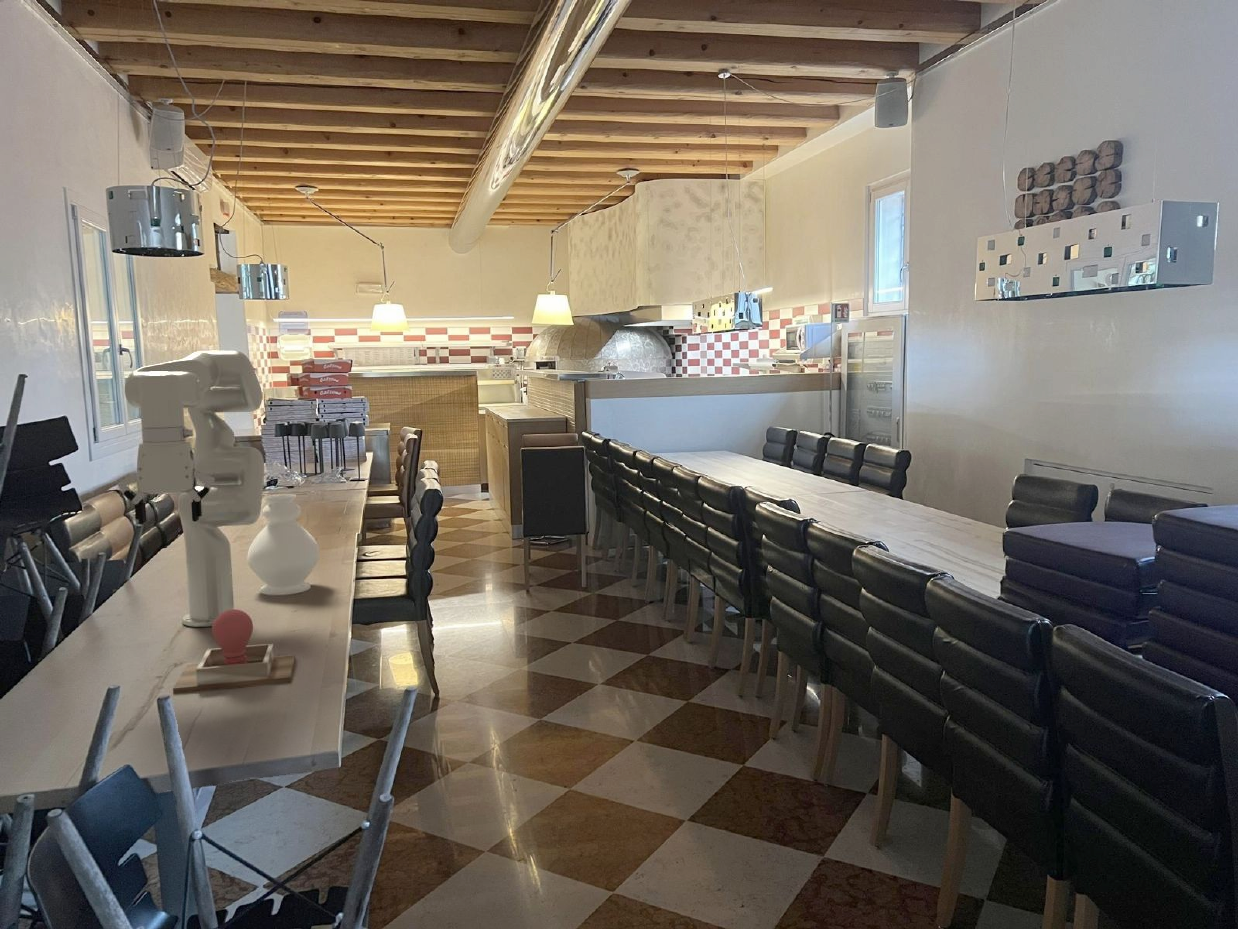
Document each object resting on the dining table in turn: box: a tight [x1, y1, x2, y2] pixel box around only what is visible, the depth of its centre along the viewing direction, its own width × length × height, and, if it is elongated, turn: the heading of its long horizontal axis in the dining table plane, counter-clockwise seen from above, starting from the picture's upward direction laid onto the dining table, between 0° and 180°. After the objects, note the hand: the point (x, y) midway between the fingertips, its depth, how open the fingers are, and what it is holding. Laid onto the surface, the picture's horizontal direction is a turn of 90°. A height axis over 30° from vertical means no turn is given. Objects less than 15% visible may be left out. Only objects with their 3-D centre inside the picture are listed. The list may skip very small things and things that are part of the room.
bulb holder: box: [172, 643, 297, 695], centre depth 169 cm, size 13×20×4 cm, turn 106°
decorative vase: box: [247, 493, 321, 596], centre depth 233 cm, size 18×18×25 cm
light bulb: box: [211, 608, 254, 665], centre depth 169 cm, size 7×7×12 cm
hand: (169, 521), depth 176 cm, fingers open, 9 cm apart
